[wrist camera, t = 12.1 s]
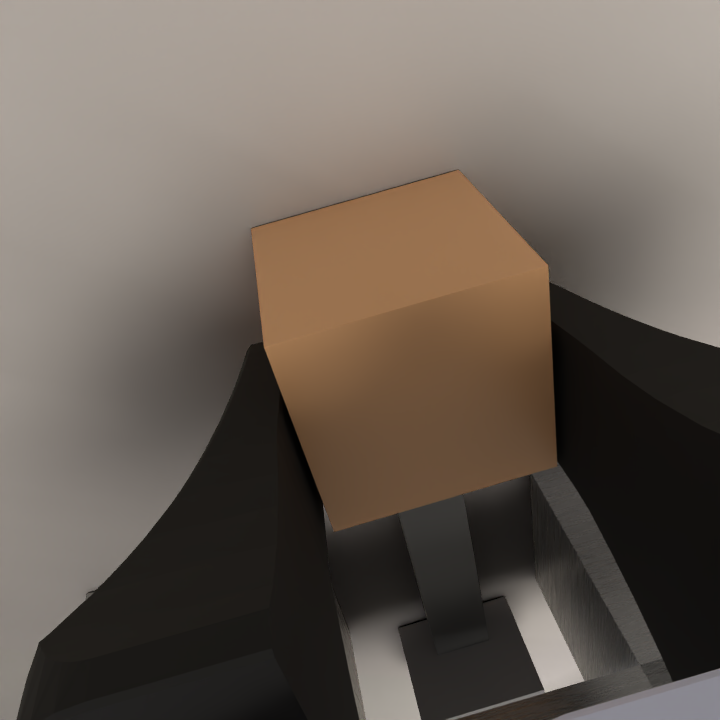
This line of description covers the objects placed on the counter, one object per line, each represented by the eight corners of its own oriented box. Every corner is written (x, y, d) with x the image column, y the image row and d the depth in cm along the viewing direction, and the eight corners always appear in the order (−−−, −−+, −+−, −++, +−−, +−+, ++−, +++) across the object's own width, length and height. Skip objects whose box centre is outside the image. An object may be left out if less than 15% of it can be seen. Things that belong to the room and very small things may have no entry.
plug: (516, 628, 21) (570, 755, 18) (401, 662, 21) (434, 796, 18) (458, 169, 12) (548, 265, 9) (251, 228, 12) (263, 347, 9)
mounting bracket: (718, 526, 20) (913, 764, 15) (159, 686, 20) (137, 1000, 14) (743, 408, 17) (1000, 650, 12) (86, 594, 17) (20, 943, 11)
